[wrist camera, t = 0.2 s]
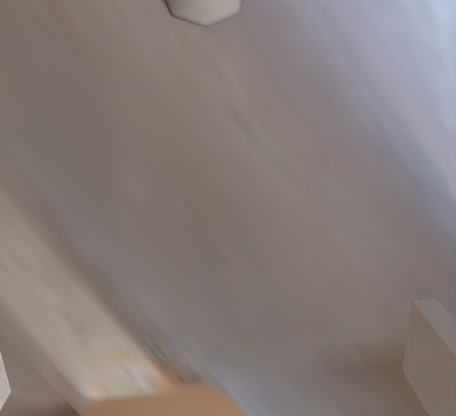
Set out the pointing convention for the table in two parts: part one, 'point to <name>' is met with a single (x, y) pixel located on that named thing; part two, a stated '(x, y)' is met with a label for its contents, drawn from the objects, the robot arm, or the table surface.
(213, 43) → the table surface
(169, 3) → the flask
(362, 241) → the table surface
